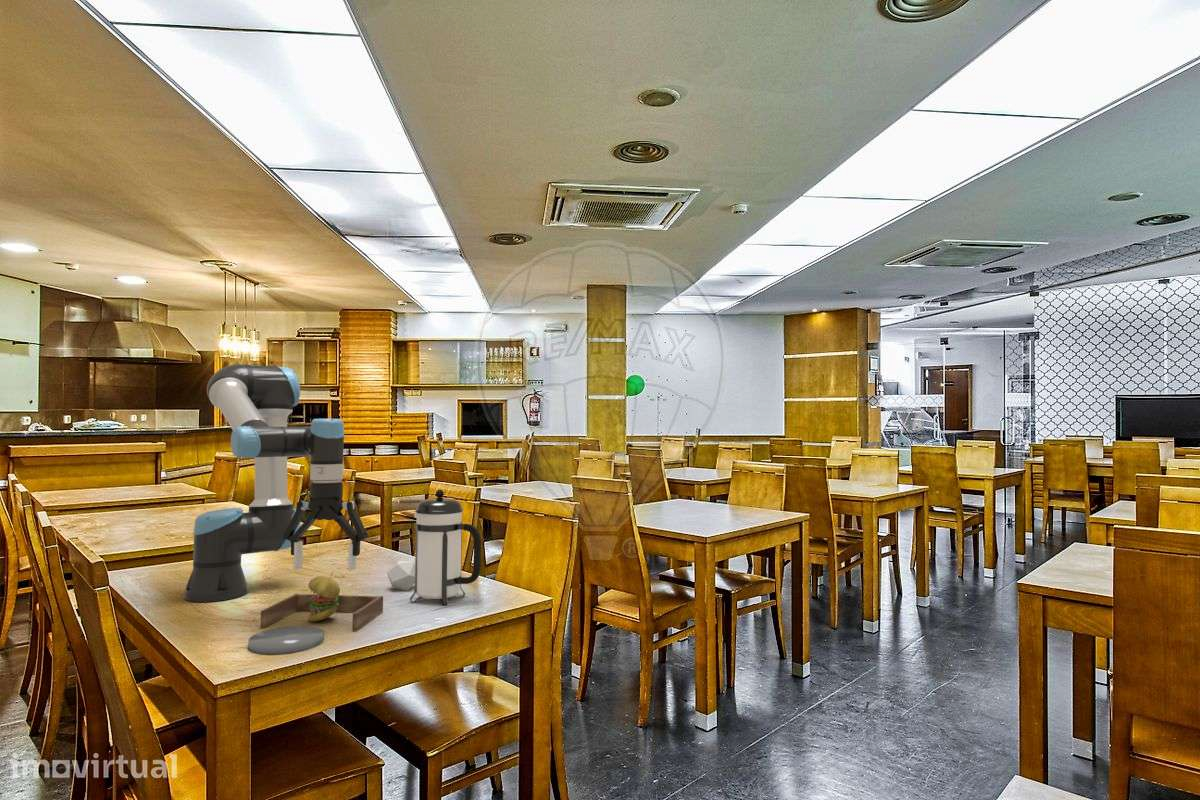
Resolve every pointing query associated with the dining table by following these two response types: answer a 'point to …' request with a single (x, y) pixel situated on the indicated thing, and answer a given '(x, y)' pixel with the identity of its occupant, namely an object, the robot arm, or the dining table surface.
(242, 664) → the dining table surface
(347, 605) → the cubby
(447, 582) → the coffee press
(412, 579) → the die
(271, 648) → the plate
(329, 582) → the hamburger
